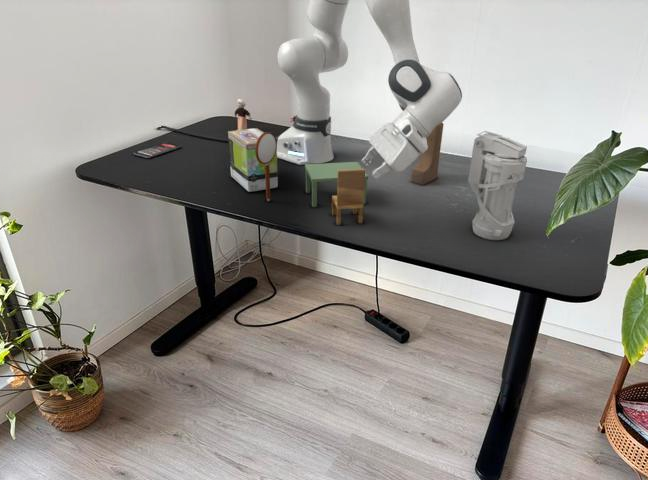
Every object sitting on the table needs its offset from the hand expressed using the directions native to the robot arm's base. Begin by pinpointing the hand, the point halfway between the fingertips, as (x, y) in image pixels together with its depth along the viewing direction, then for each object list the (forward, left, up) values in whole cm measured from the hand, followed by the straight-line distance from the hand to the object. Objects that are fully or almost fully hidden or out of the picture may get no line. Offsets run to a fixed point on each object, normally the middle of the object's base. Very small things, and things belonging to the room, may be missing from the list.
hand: (368, 169), depth 138 cm
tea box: (-42, +8, -15) cm, 45 cm away
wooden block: (+3, +38, -15) cm, 41 cm away
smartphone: (-87, +14, -15) cm, 89 cm away
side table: (-15, +10, -15) cm, 23 cm away
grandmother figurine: (-76, +49, -15) cm, 92 cm away
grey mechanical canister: (+30, +12, -15) cm, 36 cm away
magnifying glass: (-30, -2, -15) cm, 34 cm away
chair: (-5, -1, -15) cm, 16 cm away
